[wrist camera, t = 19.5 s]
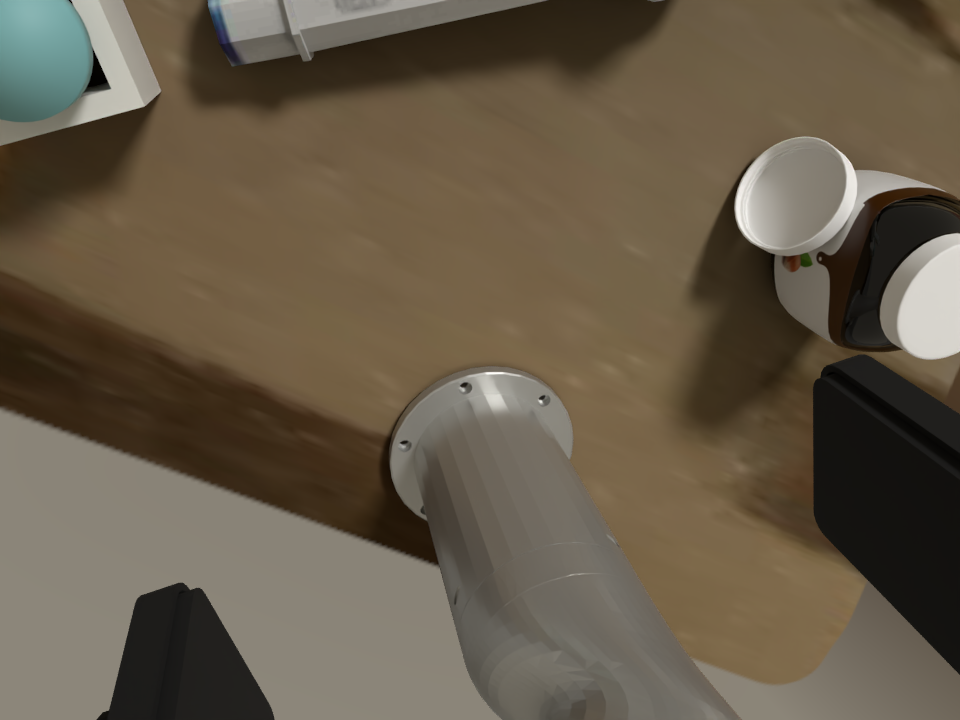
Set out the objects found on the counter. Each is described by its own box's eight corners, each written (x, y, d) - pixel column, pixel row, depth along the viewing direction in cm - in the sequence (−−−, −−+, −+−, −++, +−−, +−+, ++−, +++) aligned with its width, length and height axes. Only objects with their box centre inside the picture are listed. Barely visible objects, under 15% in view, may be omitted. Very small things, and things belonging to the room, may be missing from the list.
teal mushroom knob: (137, 82, 36) (112, 101, 30) (20, 114, 35) (-28, 138, 30) (81, -48, 33) (42, -53, 28) (-47, -15, 32) (-113, -14, 27)
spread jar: (848, 304, 53) (981, 381, 42) (703, 311, 50) (808, 395, 40) (898, 128, 47) (1064, 169, 37) (738, 127, 45) (870, 171, 35)
